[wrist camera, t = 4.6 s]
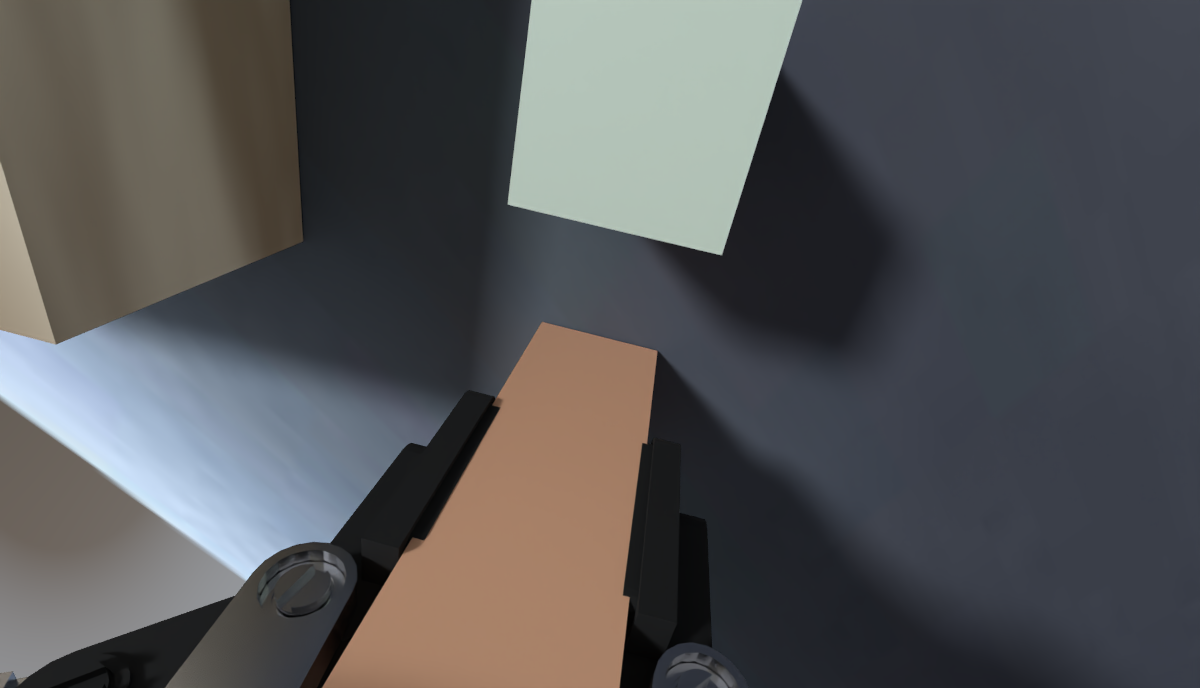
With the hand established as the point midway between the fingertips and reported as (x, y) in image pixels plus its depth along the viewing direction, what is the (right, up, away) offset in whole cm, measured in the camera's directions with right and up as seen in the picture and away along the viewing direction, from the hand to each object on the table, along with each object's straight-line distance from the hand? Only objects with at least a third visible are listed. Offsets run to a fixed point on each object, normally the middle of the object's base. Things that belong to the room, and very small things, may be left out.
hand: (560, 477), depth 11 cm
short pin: (+2, +8, 0) cm, 8 cm away
